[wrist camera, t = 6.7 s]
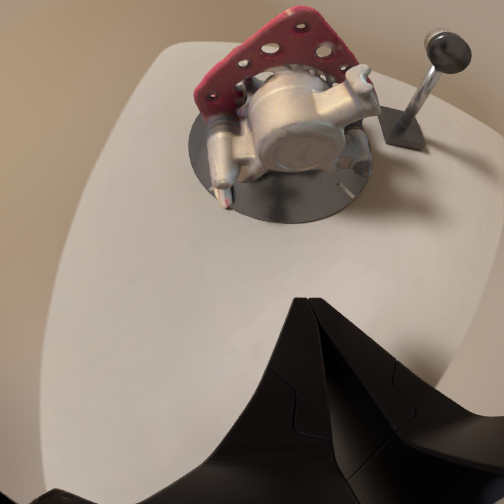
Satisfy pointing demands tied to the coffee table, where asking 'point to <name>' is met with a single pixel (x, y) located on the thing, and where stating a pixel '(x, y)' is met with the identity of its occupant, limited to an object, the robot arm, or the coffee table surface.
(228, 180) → the brake caliper
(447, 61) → the stand
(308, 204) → the truing plate
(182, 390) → the coffee table surface
